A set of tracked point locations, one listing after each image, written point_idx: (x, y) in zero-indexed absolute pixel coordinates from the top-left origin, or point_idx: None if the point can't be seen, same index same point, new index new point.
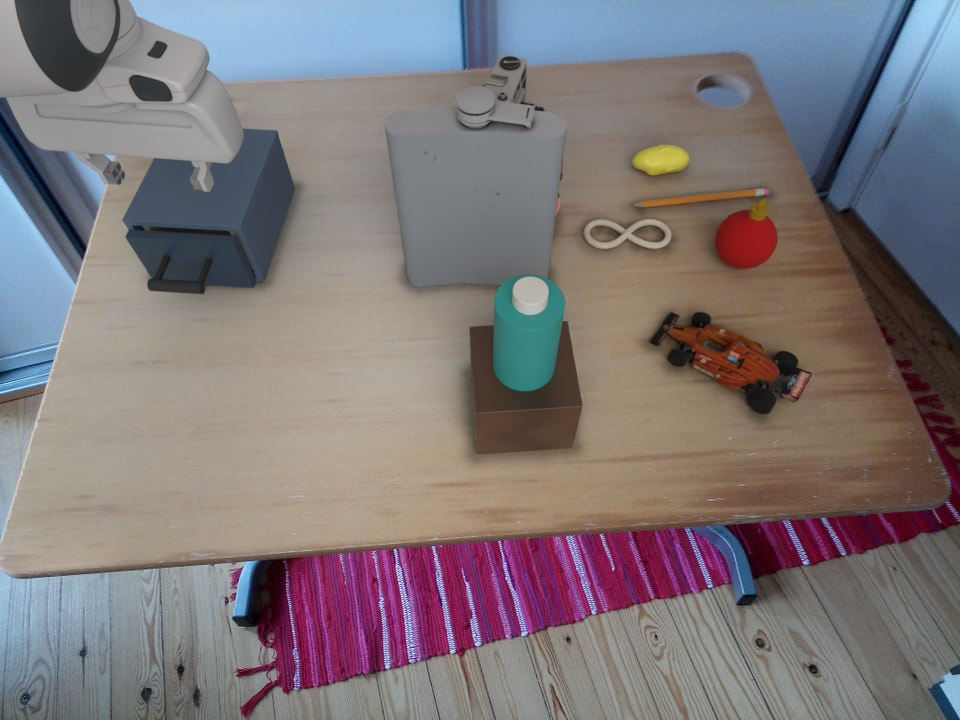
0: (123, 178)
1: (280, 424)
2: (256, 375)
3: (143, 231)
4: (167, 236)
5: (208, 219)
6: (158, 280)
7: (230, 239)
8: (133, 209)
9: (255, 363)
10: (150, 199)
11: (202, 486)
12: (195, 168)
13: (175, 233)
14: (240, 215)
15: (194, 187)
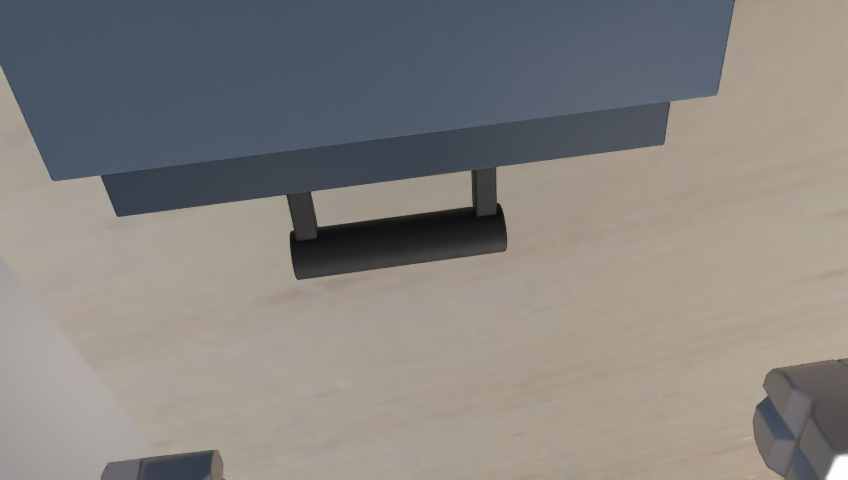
0: (220, 463)
1: (709, 342)
2: (631, 258)
3: (185, 169)
4: (326, 170)
5: (534, 83)
6: (334, 262)
7: (648, 128)
8: (58, 103)
9: (621, 230)
10: (101, 5)
11: (568, 462)
12: (839, 460)
13: (358, 148)
14: (710, 21)
15: (777, 465)
